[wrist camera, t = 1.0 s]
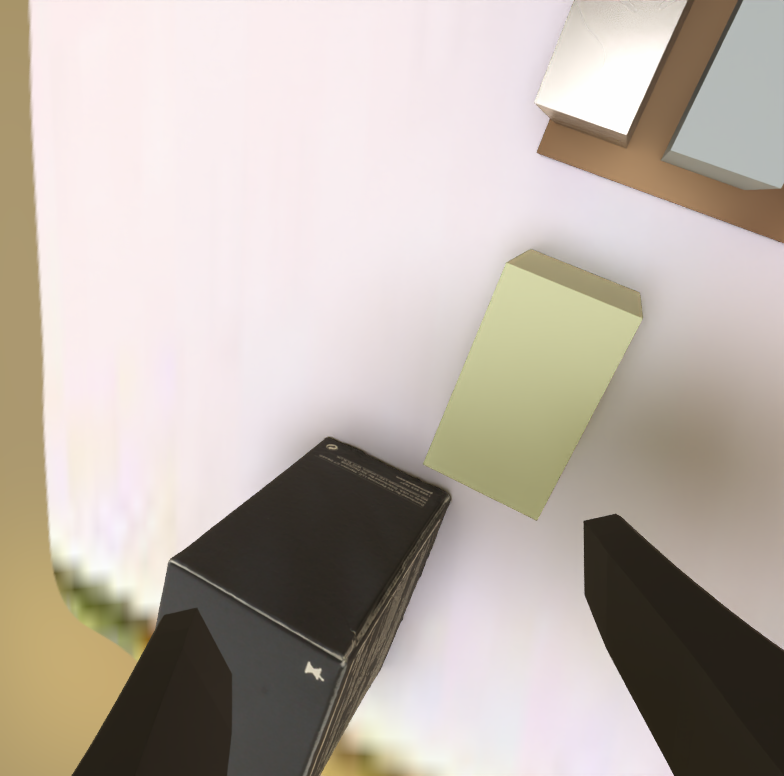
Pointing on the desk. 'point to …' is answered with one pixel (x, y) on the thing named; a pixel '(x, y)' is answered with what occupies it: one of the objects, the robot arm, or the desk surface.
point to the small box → (307, 599)
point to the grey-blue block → (738, 104)
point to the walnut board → (655, 129)
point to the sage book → (533, 379)
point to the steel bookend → (609, 64)
